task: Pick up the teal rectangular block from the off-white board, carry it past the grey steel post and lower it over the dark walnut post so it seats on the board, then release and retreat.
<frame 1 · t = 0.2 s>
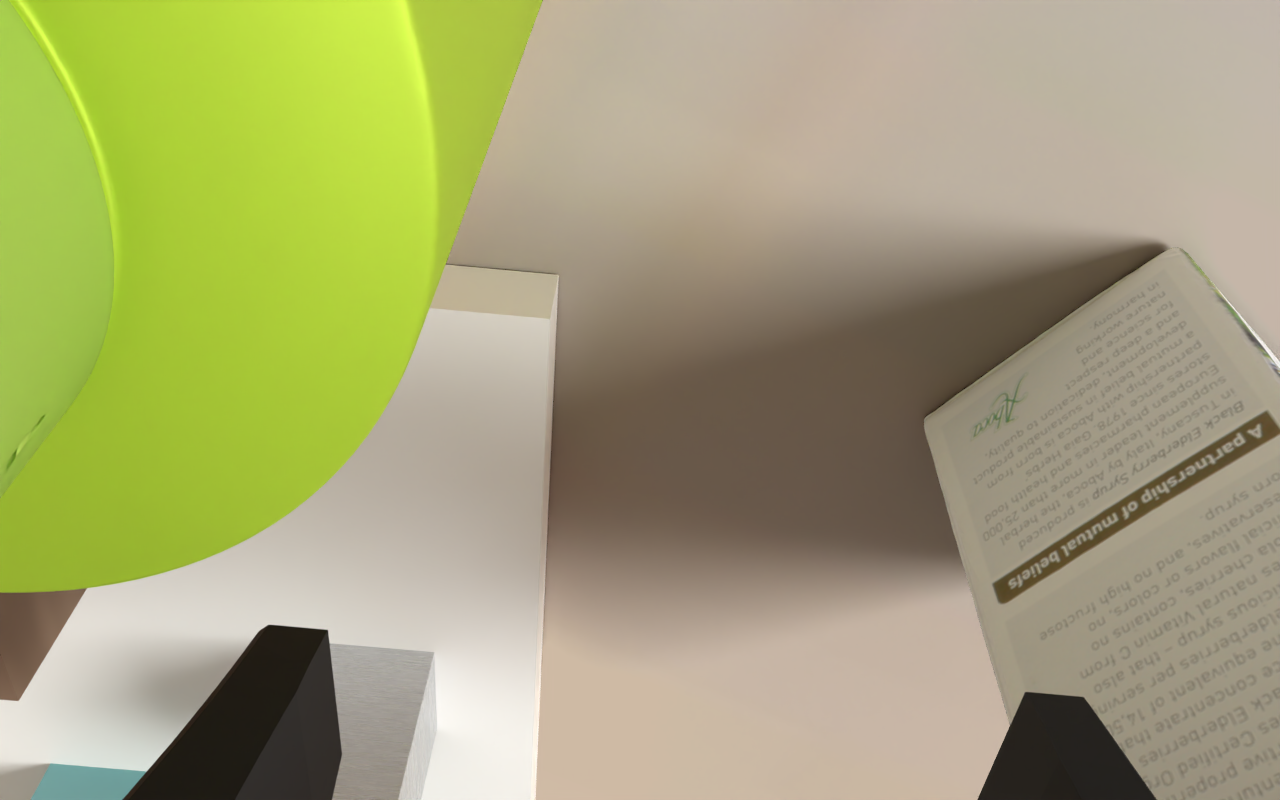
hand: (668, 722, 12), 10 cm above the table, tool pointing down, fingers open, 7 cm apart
steel post: (377, 686, 25), resting on post board
walnut post: (62, 434, 21), resting on post board
syrup box: (1121, 410, 22), on the table
post board: (241, 622, 26), on the table
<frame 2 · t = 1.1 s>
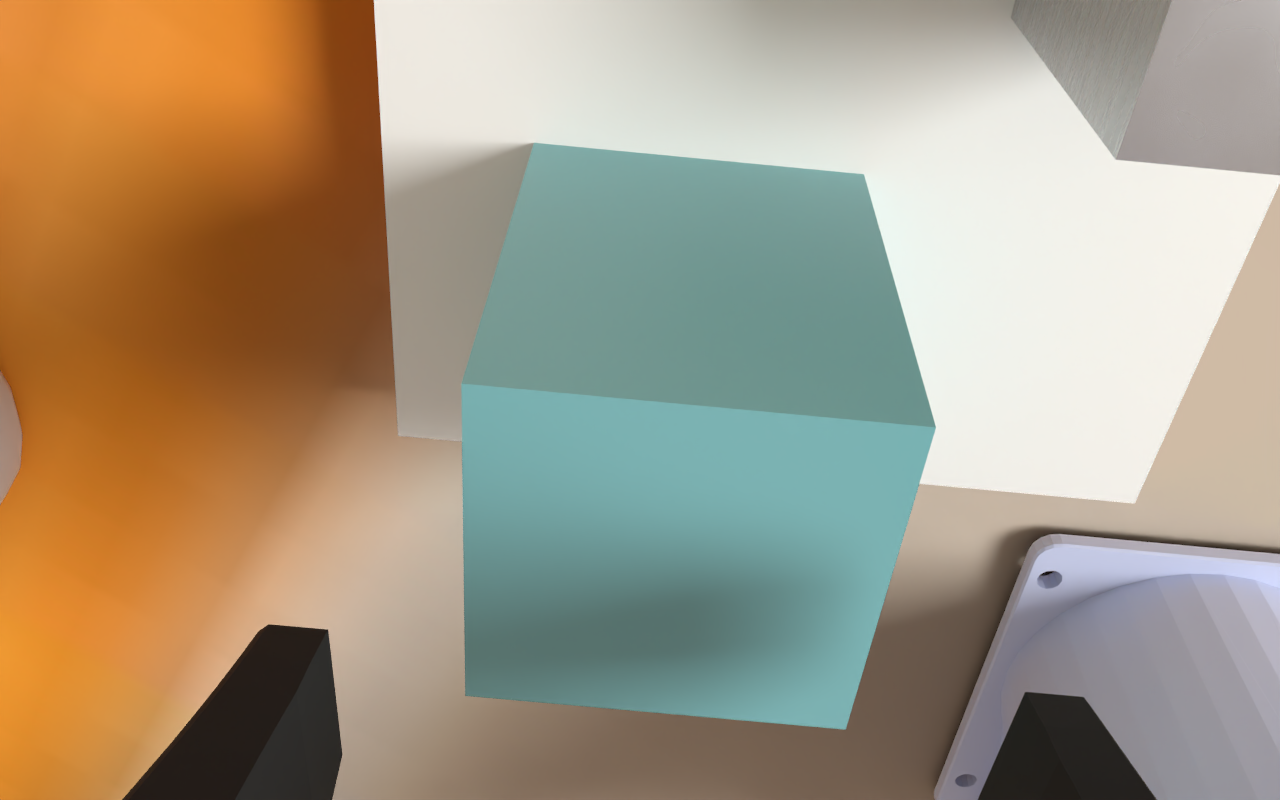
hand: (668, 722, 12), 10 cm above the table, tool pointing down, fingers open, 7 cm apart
teal rectangular block: (681, 300, 19), point 1 cm above the table, touching post board
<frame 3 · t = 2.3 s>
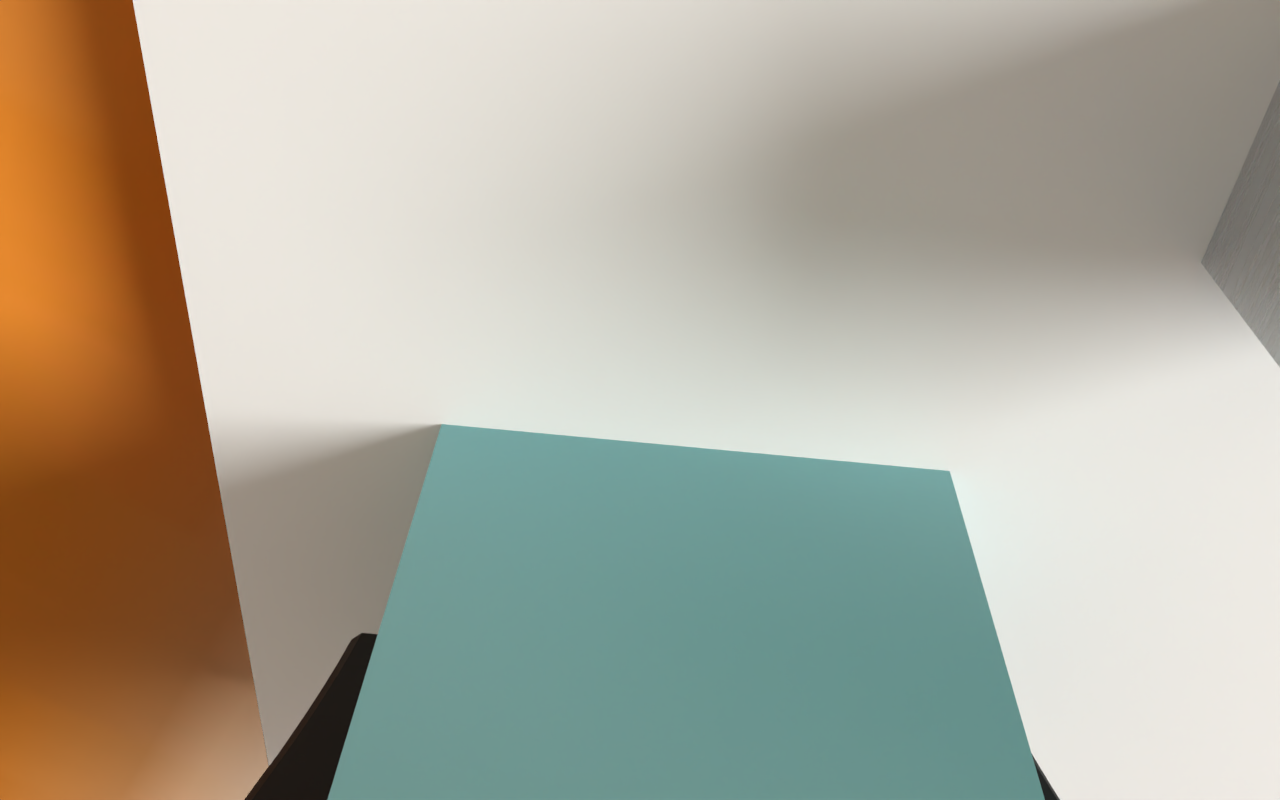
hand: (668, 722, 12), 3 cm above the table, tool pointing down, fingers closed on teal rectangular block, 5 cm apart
teal rectangular block: (670, 623, 13), point 1 cm above the table, touching gripper, post board
post board: (960, 37, 10), on the table
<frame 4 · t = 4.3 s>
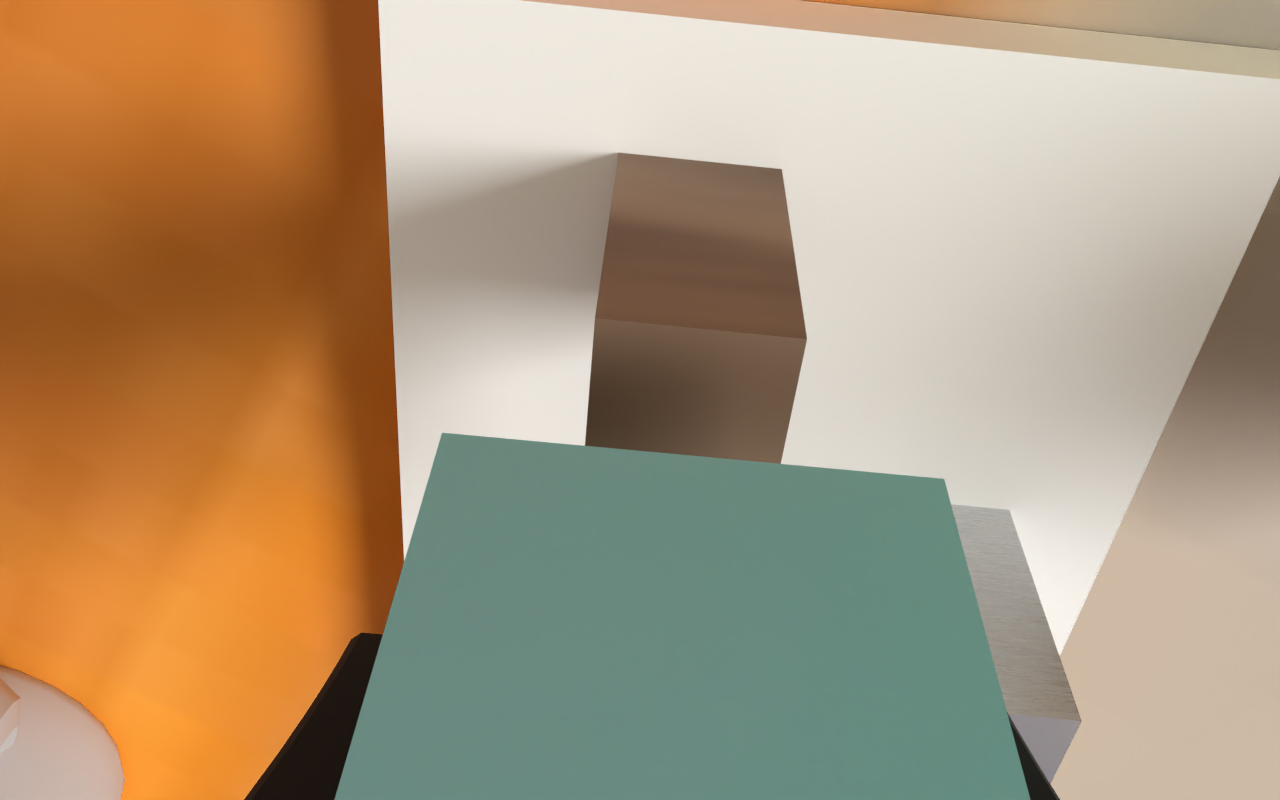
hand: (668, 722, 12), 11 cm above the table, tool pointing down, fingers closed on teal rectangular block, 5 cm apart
cup: (7, 707, 29), on the table
steel post: (926, 552, 22), resting on post board
walnut post: (690, 234, 18), resting on post board
teal rectangular block: (668, 625, 13), point 9 cm above the table, touching gripper
post board: (749, 487, 23), on the table
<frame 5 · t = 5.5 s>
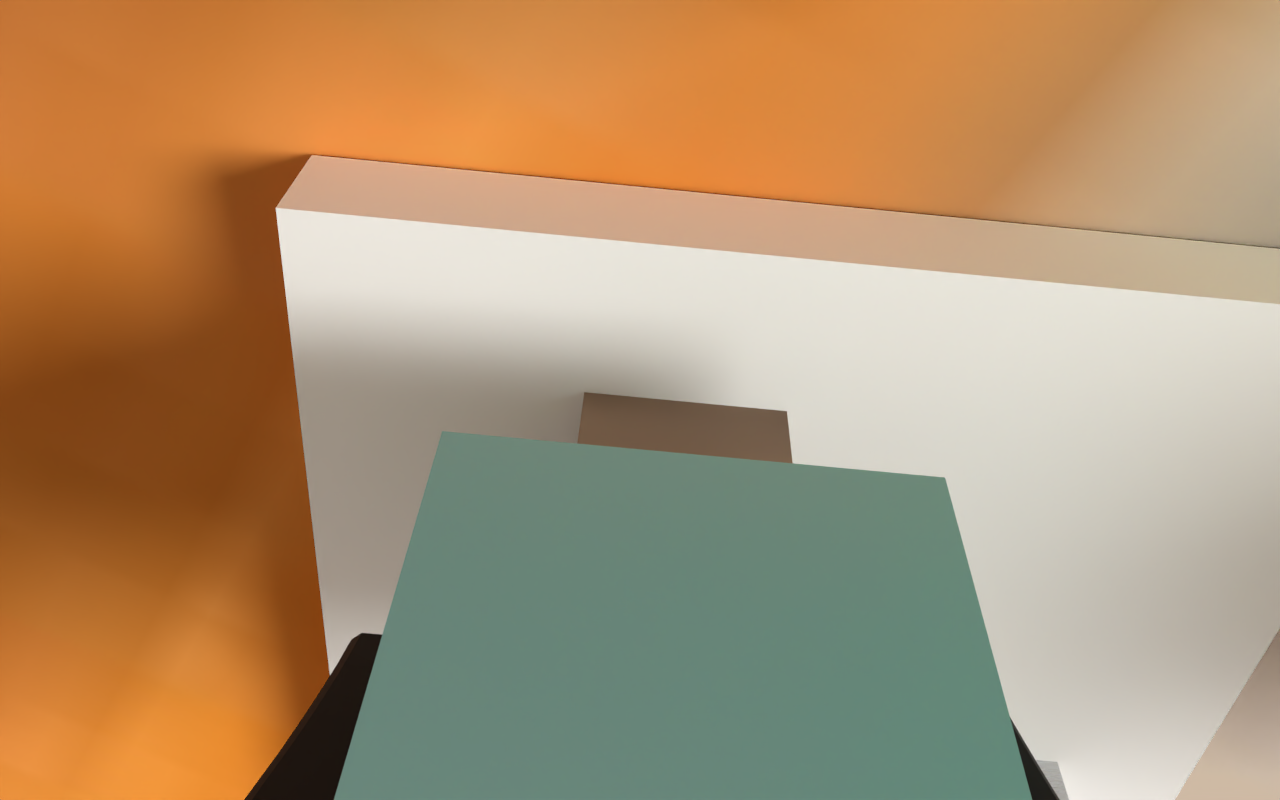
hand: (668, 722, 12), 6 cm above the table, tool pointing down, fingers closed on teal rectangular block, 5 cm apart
walnut post: (675, 479, 15), resting on post board
teal rectangular block: (669, 624, 13), point 4 cm above the table, touching gripper
post board: (749, 712, 20), on the table
when the fingers open (4 cm above the table, at t = 6.3 s): teal rectangular block stays where it is, resting on post board.
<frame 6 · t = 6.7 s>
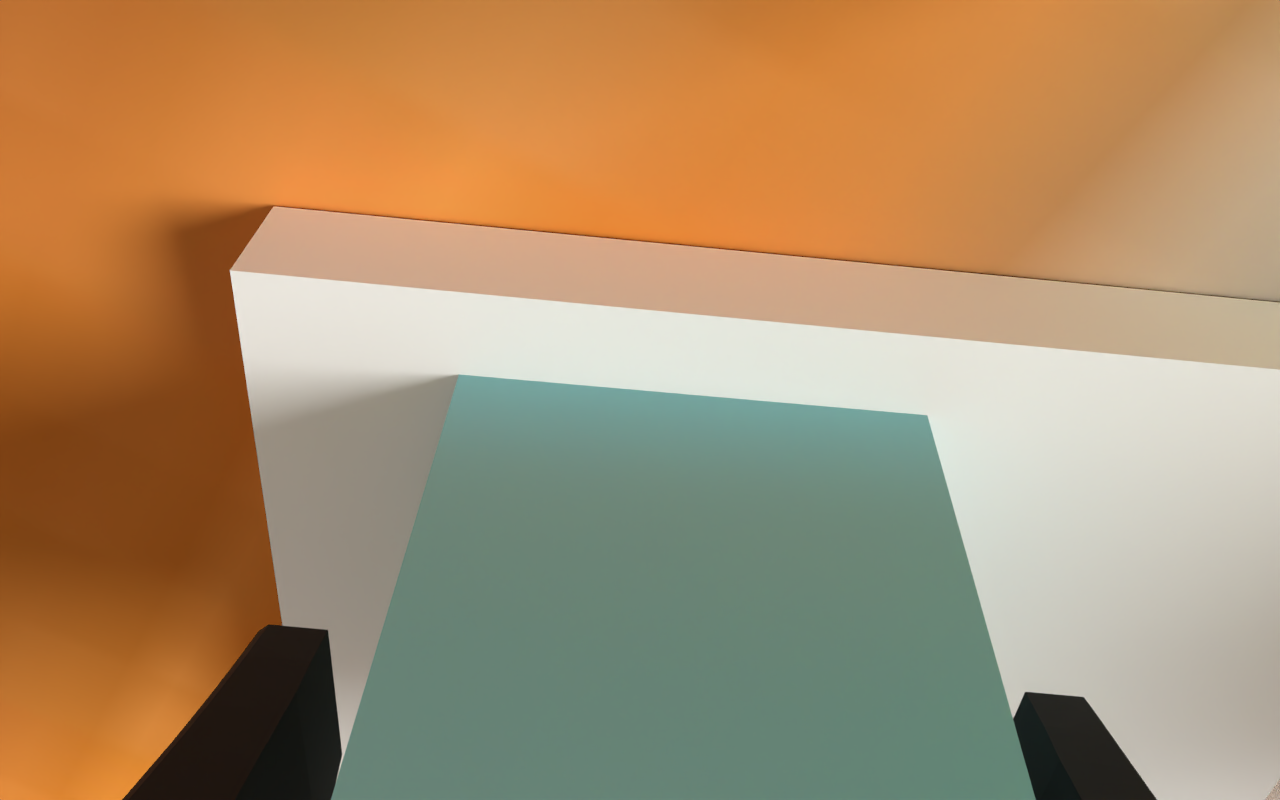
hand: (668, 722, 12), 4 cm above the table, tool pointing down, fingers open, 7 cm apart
teal rectangular block: (671, 564, 14), point 1 cm above the table, touching post board
post board: (752, 783, 19), on the table
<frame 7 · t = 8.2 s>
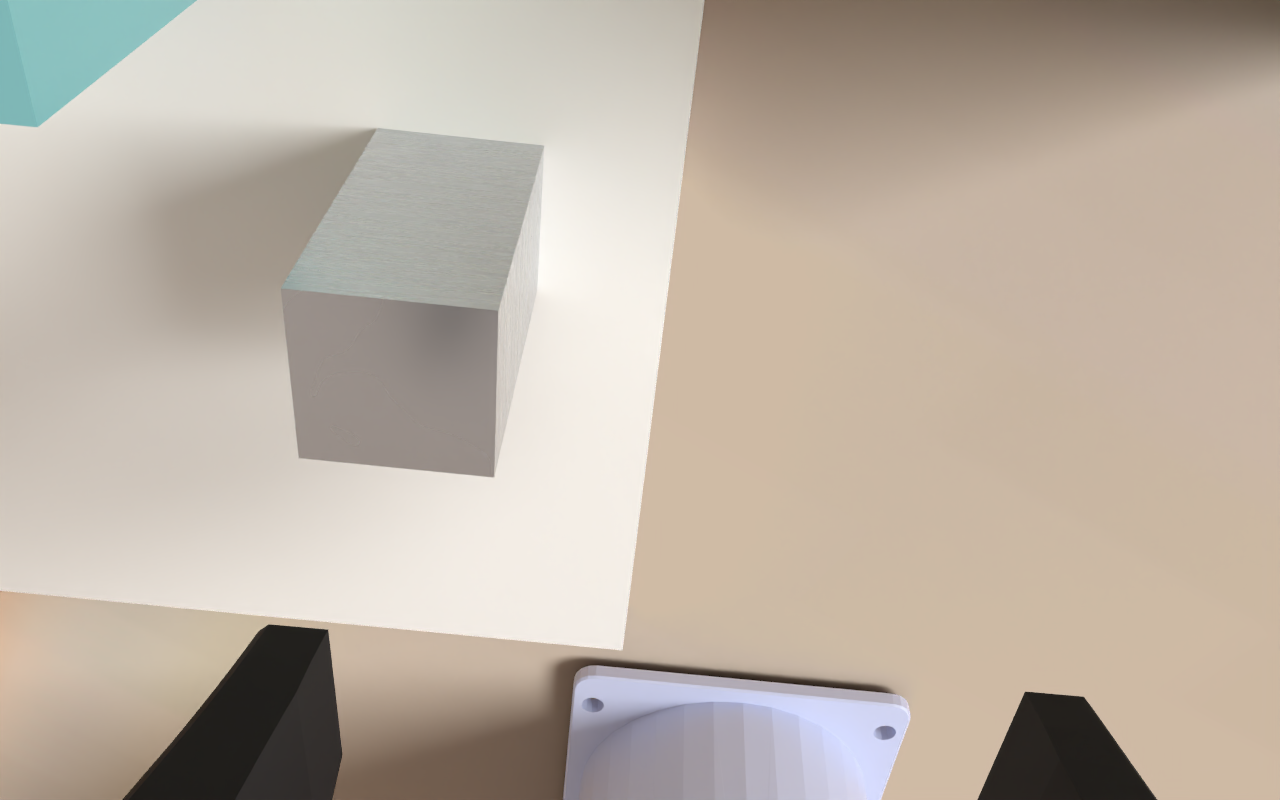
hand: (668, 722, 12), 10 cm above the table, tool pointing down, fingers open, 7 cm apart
steel post: (460, 212, 18), resting on post board
post board: (273, 152, 19), on the table
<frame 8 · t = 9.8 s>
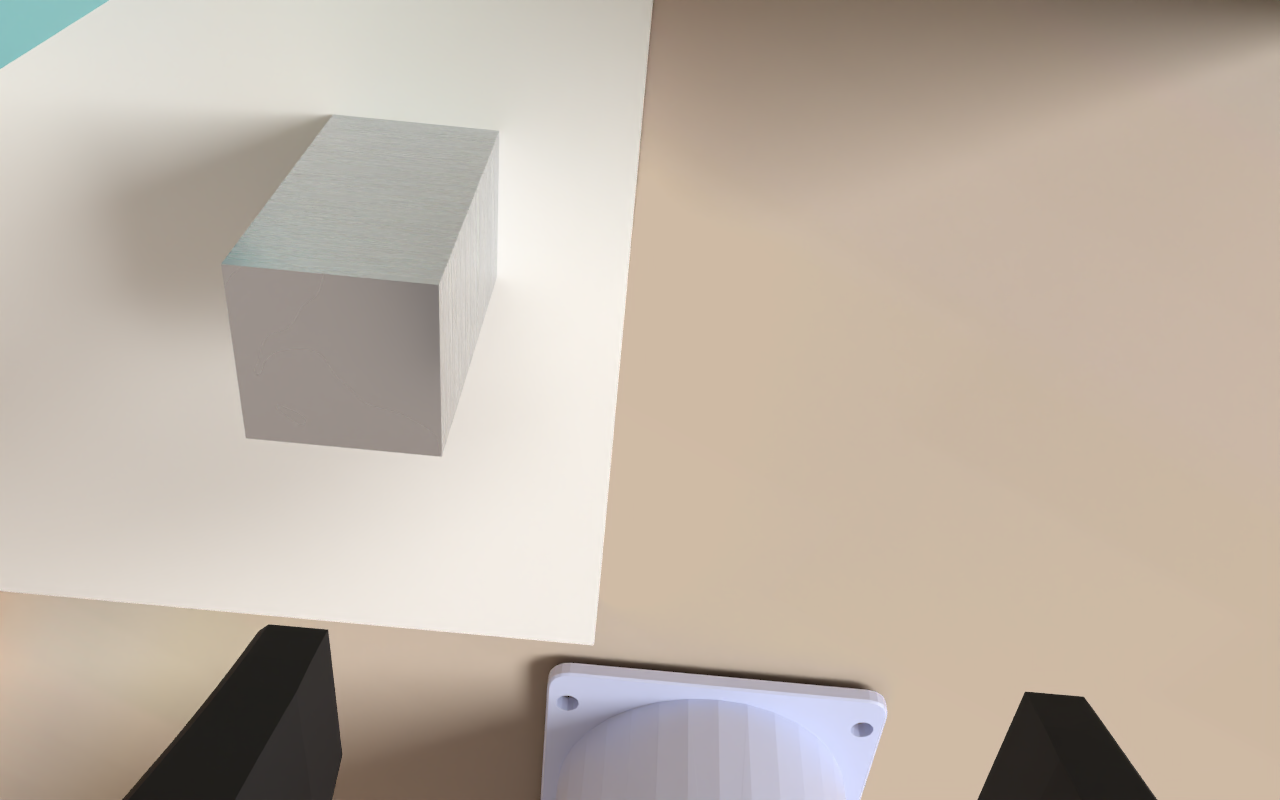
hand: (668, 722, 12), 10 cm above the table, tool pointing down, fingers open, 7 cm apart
steel post: (418, 199, 18), resting on post board
post board: (234, 143, 19), on the table
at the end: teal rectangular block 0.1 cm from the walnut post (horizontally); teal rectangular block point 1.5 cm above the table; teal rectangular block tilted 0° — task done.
